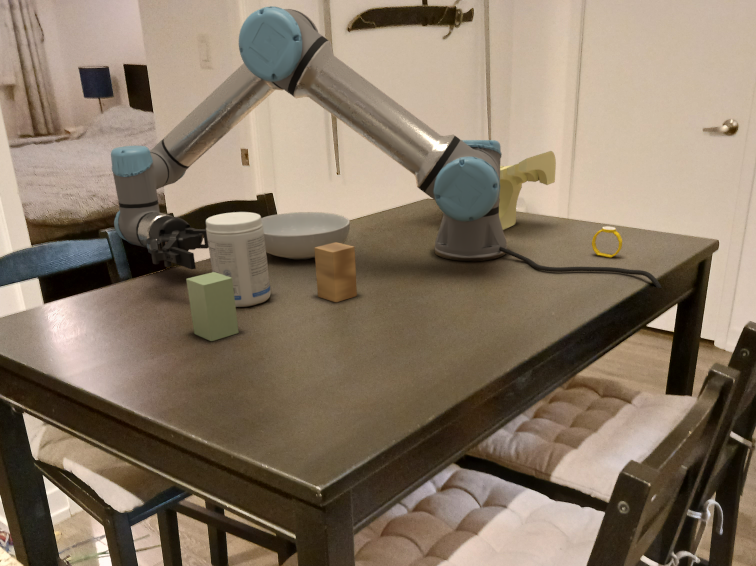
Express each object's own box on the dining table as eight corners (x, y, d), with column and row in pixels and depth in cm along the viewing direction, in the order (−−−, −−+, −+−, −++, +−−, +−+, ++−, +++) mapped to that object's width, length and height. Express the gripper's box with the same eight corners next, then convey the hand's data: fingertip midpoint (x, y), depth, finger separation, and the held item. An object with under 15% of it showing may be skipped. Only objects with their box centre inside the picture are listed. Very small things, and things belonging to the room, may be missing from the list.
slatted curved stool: (552, 225, 183) (556, 149, 176) (523, 240, 171) (526, 158, 164) (445, 213, 198) (444, 142, 191) (411, 225, 186) (410, 150, 179)
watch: (589, 256, 158) (591, 227, 155) (593, 253, 160) (596, 224, 157) (617, 259, 155) (620, 230, 152) (622, 256, 157) (624, 227, 154)
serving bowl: (234, 262, 158) (230, 229, 155) (285, 239, 176) (282, 209, 173) (323, 271, 151) (320, 237, 148) (367, 246, 169) (366, 214, 166)
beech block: (339, 290, 139) (336, 241, 136) (357, 296, 136) (354, 246, 132) (317, 296, 136) (314, 247, 132) (335, 302, 133) (332, 252, 129)
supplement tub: (263, 288, 141) (254, 209, 135) (277, 303, 133) (269, 219, 127) (210, 296, 137) (199, 215, 131) (222, 312, 129) (211, 226, 123)
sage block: (221, 325, 123) (214, 271, 120) (238, 332, 120) (232, 277, 116) (194, 333, 120) (186, 278, 116) (211, 341, 117) (203, 285, 113)
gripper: (224, 241, 158) (286, 259, 144) (108, 267, 142) (165, 289, 128) (219, 205, 154) (282, 220, 141) (101, 226, 138) (158, 245, 125)
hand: (227, 253), depth 134 cm, fingers open, 13 cm apart
